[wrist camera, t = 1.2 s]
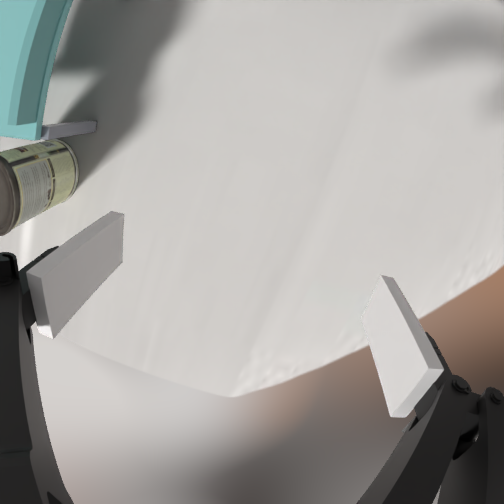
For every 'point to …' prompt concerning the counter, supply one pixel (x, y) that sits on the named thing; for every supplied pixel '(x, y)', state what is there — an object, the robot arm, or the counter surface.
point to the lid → (27, 62)
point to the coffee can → (35, 180)
